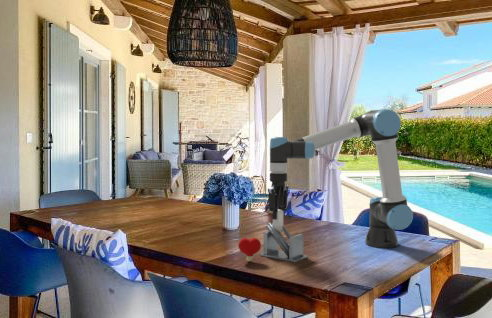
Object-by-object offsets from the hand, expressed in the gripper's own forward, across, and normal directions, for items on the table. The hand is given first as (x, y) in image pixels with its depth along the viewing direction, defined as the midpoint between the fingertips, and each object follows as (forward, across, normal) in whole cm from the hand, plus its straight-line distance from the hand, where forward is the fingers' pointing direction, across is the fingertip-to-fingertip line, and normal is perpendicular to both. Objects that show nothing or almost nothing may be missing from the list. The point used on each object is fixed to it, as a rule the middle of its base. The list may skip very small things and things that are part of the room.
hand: (278, 225), depth 213 cm
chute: (+13, 0, +3) cm, 13 cm away
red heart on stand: (+13, +16, -4) cm, 21 cm away
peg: (+2, 0, 0) cm, 2 cm away
